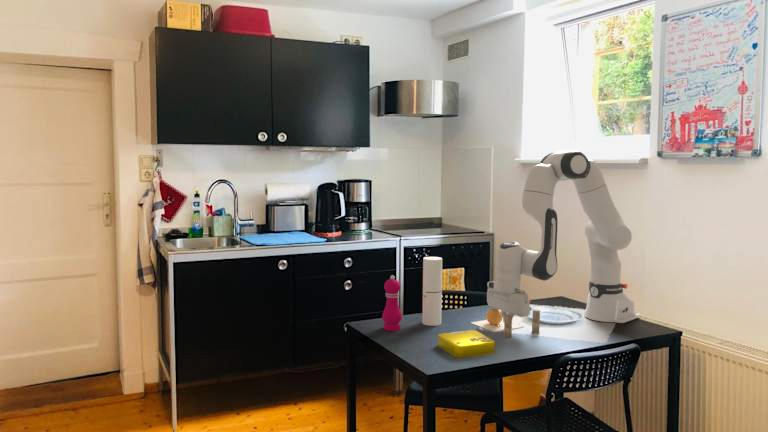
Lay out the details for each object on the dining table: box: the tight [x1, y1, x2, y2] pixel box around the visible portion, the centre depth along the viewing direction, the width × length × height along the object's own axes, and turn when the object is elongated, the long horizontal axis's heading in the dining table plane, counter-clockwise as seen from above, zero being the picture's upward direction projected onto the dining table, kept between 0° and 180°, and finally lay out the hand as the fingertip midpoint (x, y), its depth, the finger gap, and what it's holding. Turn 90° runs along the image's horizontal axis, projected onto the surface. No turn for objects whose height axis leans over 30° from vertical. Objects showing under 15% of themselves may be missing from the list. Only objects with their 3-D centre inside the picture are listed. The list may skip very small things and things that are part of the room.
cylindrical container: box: [421, 256, 443, 327], centre depth 252 cm, size 7×7×25 cm
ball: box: [485, 308, 503, 325], centre depth 252 cm, size 6×6×6 cm
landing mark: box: [470, 318, 524, 333], centre depth 252 cm, size 14×14×1 cm
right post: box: [531, 309, 541, 334], centre depth 242 cm, size 3×3×8 cm
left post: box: [503, 313, 513, 339], centre depth 236 cm, size 3×3×8 cm
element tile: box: [437, 329, 496, 359], centre depth 223 cm, size 15×15×5 cm
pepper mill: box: [381, 274, 403, 332], centre depth 245 cm, size 7×7×20 cm
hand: (507, 323), depth 246 cm, fingers closed
